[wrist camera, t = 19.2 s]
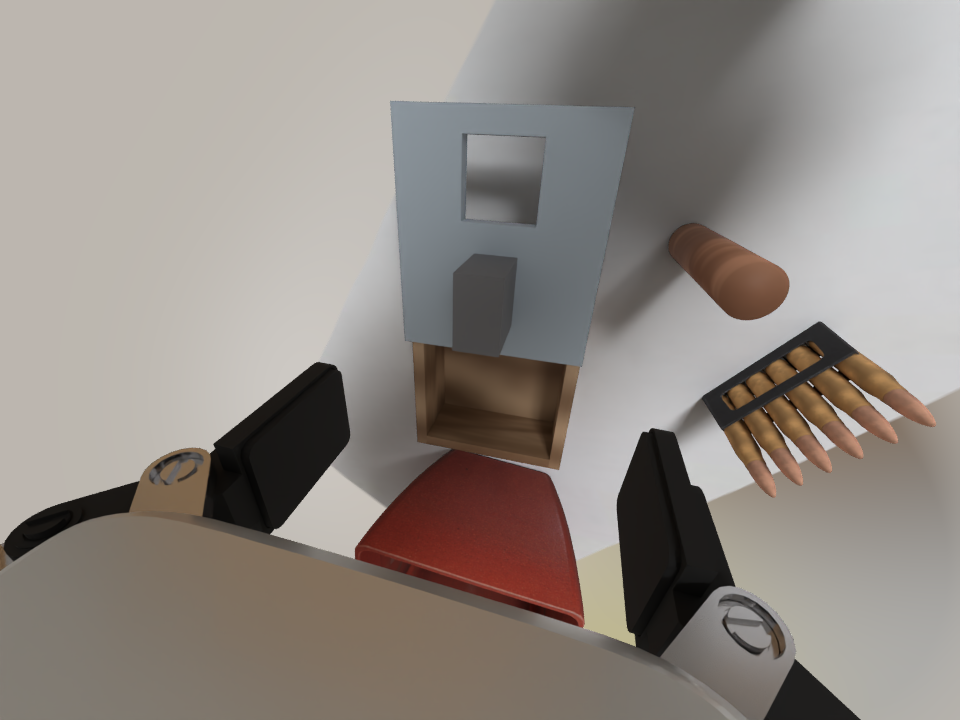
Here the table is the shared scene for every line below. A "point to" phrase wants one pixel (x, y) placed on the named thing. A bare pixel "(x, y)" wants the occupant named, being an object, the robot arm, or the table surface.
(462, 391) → the brown hollow box
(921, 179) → the table surface
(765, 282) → the brown rounded cylinder
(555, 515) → the plant pot
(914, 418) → the ammunition clip
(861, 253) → the table surface
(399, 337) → the table surface
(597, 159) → the toolbox lid
